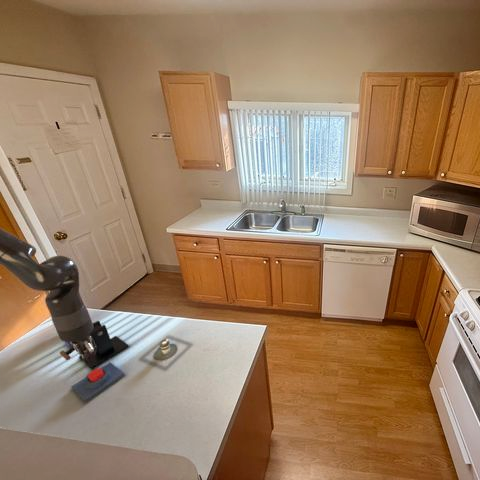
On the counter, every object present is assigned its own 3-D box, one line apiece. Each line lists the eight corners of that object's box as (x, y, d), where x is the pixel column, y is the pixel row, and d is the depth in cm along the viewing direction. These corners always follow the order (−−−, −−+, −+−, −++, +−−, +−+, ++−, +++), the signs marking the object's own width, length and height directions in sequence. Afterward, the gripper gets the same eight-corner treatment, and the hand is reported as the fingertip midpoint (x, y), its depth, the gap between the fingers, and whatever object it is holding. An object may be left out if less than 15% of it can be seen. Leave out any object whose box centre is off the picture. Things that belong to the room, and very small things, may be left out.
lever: (69, 361, 84) (63, 358, 83) (62, 355, 86) (57, 351, 85) (105, 331, 92) (101, 328, 91) (98, 326, 94) (94, 323, 93)
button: (93, 383, 82) (91, 379, 81) (87, 378, 83) (85, 374, 83) (106, 375, 85) (104, 371, 84) (100, 370, 86) (99, 366, 86)
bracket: (91, 370, 89) (79, 342, 84) (79, 359, 93) (67, 332, 88) (128, 347, 99) (120, 321, 94) (116, 338, 103) (107, 312, 97)
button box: (85, 402, 79) (82, 396, 78) (72, 389, 83) (69, 382, 81) (124, 375, 88) (122, 369, 87) (111, 364, 91) (108, 358, 90)
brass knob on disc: (140, 359, 94) (137, 349, 92) (167, 336, 105) (165, 327, 103) (165, 369, 91) (162, 359, 89) (191, 344, 101) (189, 335, 99)
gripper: (45, 320, 74) (66, 362, 81) (66, 338, 69) (86, 381, 76) (78, 306, 80) (94, 346, 87) (99, 321, 75) (114, 363, 82)
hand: (90, 363), depth 82 cm, fingers closed
